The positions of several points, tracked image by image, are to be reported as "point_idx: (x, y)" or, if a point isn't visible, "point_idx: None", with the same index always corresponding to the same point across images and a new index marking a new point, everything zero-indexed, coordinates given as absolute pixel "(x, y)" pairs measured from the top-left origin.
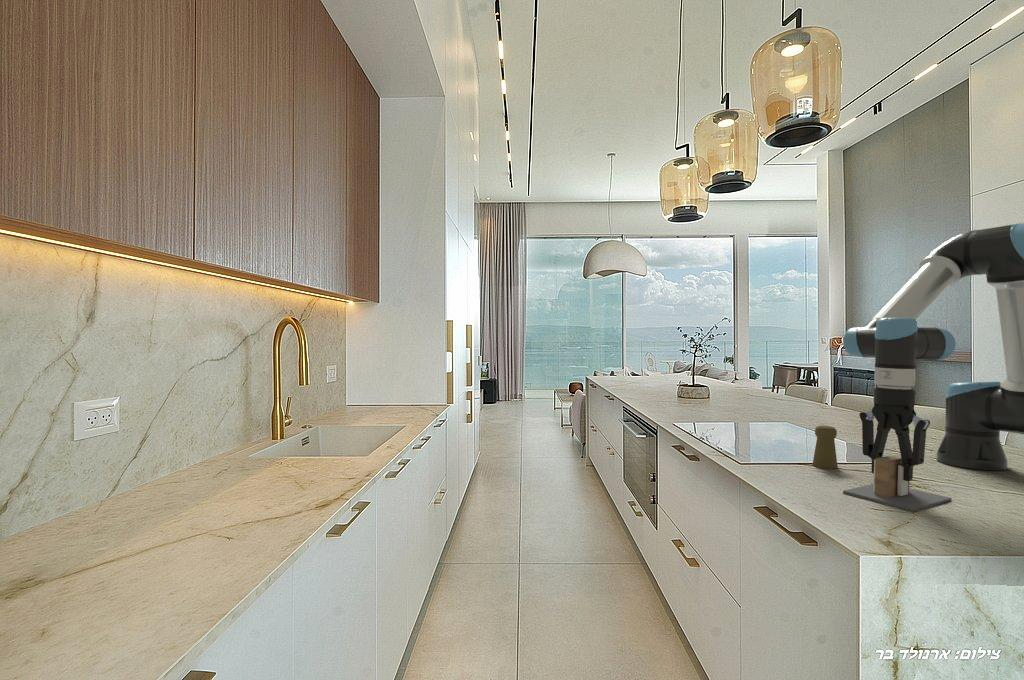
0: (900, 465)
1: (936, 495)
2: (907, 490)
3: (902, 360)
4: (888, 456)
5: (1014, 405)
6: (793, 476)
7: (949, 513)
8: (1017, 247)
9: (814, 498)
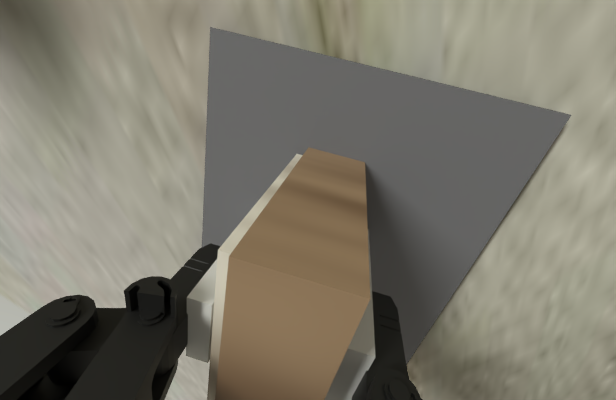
0: (334, 397)
1: (491, 121)
2: (368, 242)
3: None
4: (225, 387)
5: None
6: (9, 199)
7: (511, 318)
8: None
9: (193, 370)
